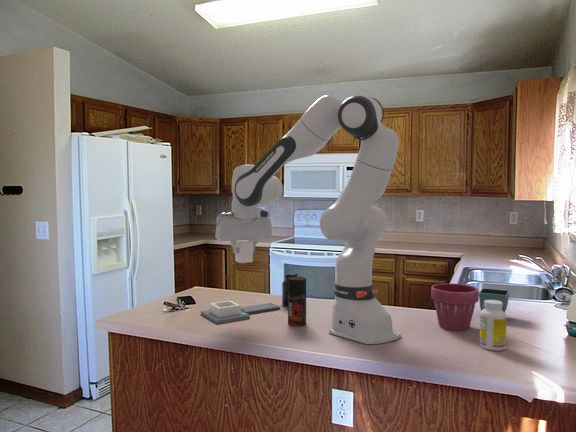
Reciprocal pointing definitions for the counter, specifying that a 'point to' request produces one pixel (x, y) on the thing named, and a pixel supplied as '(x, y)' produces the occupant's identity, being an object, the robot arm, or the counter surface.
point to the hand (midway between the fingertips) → (244, 252)
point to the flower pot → (493, 297)
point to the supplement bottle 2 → (493, 326)
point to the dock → (225, 312)
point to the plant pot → (454, 305)
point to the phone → (260, 308)
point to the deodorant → (297, 301)
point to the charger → (244, 251)
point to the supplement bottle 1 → (286, 287)
